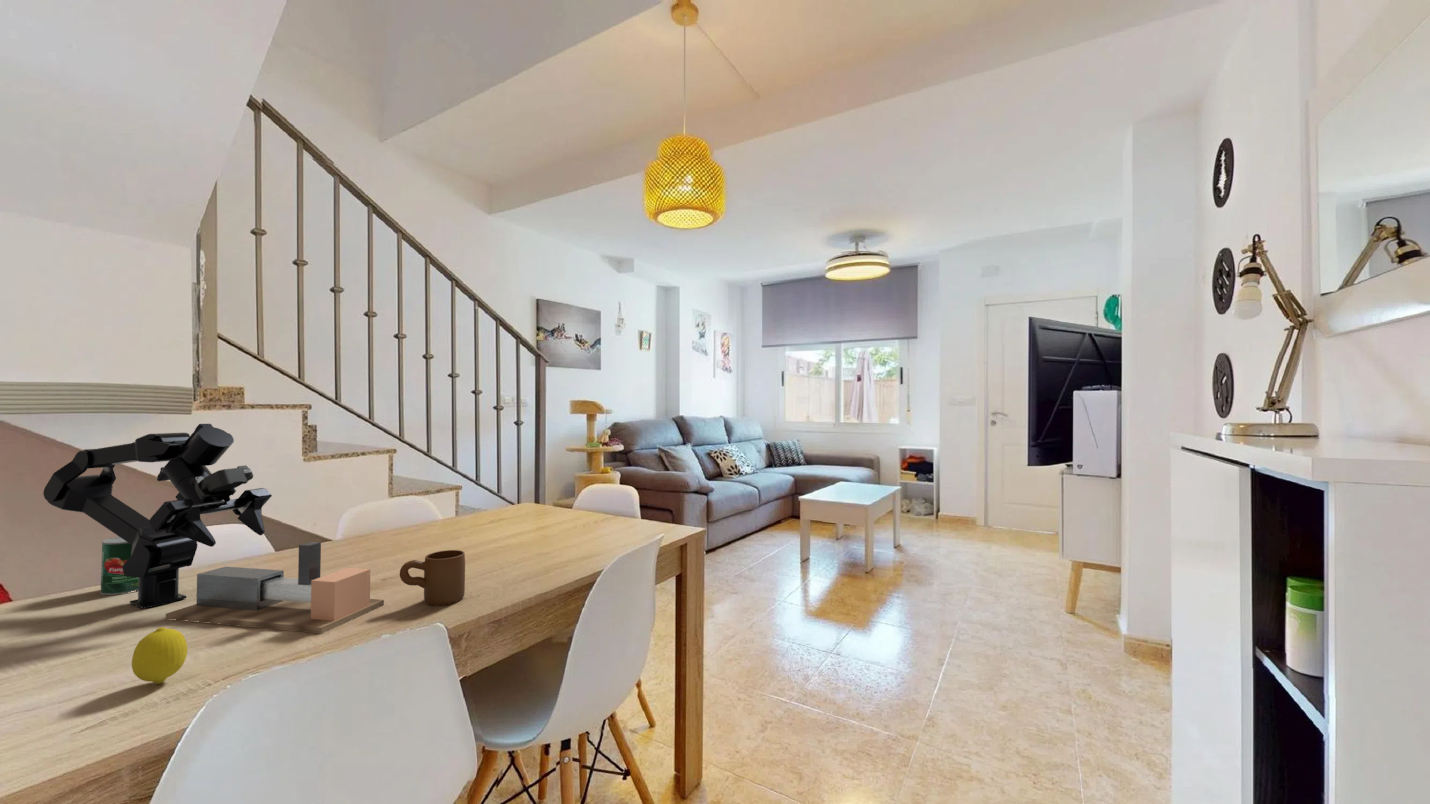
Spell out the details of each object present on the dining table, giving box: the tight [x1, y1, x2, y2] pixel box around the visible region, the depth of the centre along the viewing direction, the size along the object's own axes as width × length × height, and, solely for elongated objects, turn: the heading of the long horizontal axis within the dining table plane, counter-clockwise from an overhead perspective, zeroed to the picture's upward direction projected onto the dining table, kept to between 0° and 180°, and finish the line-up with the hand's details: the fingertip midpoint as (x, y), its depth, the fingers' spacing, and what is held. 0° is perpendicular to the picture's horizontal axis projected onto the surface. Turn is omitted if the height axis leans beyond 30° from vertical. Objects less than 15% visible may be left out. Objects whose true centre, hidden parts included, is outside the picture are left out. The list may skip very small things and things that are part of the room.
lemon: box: [131, 626, 188, 685], centre depth 77 cm, size 6×6×8 cm
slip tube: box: [260, 541, 322, 603], centre depth 104 cm, size 23×3×11 cm, turn 80°
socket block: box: [311, 567, 371, 621], centre depth 101 cm, size 5×8×7 cm, turn 170°
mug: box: [399, 549, 466, 606], centre depth 110 cm, size 12×8×9 cm, turn 128°
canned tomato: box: [99, 536, 138, 596], centre depth 116 cm, size 8×8×11 cm
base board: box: [164, 598, 385, 634], centre depth 104 cm, size 34×14×1 cm, turn 80°
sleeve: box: [195, 566, 285, 611], centre depth 105 cm, size 14×5×6 cm, turn 80°
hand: (239, 539), depth 106 cm, fingers open, 9 cm apart
